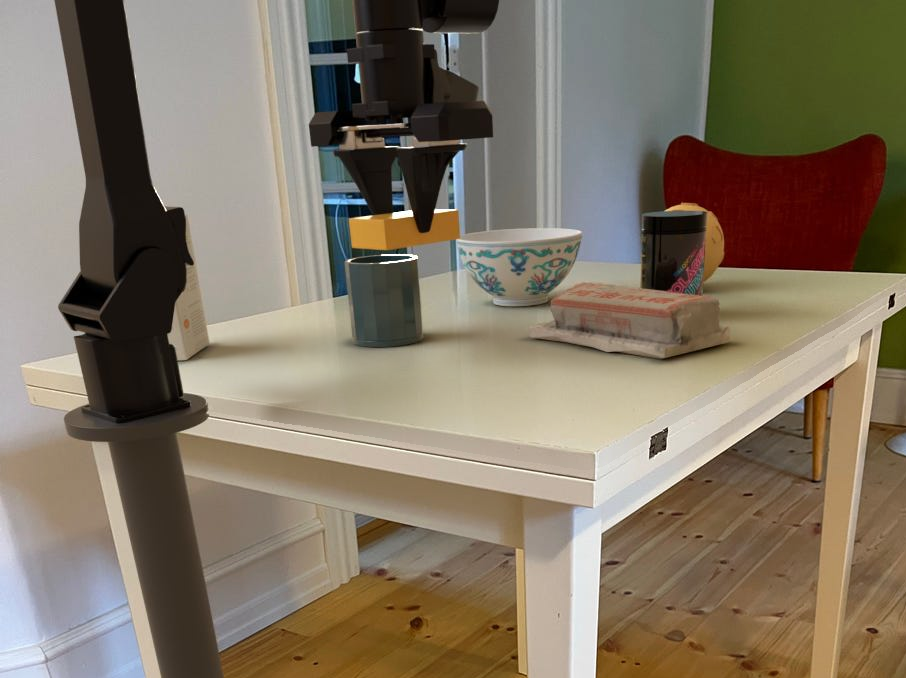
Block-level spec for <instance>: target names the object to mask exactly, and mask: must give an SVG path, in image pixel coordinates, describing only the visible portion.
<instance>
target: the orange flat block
mask: <svg viewBox="0 0 906 678" xmlns="http://www.w3.org/2000/svg"><path fill="white" fill-rule="evenodd" d="M348 223H349V235H350V243H351V249H361V250H376V251H392V250H397V249H405V248H410V247H418V246H423V245H430V244H437V243H443V242H449V241H454V240H456V239H460V236H461V229H460V211H459V209H441V208H440V209H437V208H435V212H434V216H433V220H432V225H431V229H430V231H429V232H426V233H420V232H419V231H418V228H417V225H416V222H415V219H414V216H413V213H412V209H411V210H404V211H398V212H393V213H388V214H380V215H373V214H371V215H366V216H357V217H351V218H348Z"/></svg>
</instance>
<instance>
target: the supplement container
mask: <svg viewBox="0 0 906 678" xmlns="http://www.w3.org/2000/svg"><path fill="white" fill-rule="evenodd" d="M706 226H707V212H705V211H665V210H662V211H653V212H652V211H651V212H645V213H642V214H641V229H640V231H641V247H640V248H641V249H640V284H639V288H641V289H650V290H660V291H668V292H676V293H683V294H691V295H700V296H704V283H703V278H704V260H705V242H706V230H707V227H706Z"/></svg>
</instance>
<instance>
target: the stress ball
mask: <svg viewBox="0 0 906 678" xmlns="http://www.w3.org/2000/svg"><path fill="white" fill-rule="evenodd" d="M664 211H705V212H707V226H706V227H707V230H706V242H705V260H704V278H703V284H704V283H705V282H706V281H708V280H709V279H710V278H711V277H712V276H713V275H714V274H715V273H716V271H717V269H718V268H719V266H720V264H722V262H723V261H724V257H725V253H726V252H725V237H724V232H723V228H722V226H721V224H720V223H719V219H718V217H717V216H716V215H715V214H714V212H712V210H711V211H710V210H709V211H708V209H705V208H704V207H701V206H699V204H698V203H695V202H693V203H691V202H681V203H680V204H677V205H674V206H671V207H669V208H667V209H665V210H664Z"/></svg>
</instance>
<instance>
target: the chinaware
mask: <svg viewBox="0 0 906 678" xmlns="http://www.w3.org/2000/svg"><path fill="white" fill-rule="evenodd" d="M582 237H583V232H582V231H581V230H578V229H574V228H561V227H531V228H530V227H529V228H526V227H525V228H508V229H506V228H505V229H495V230H486V231H478V232H470V233H464V234H460V239H456V245H457V250H458V253H459V257H460V259H461V262H462V264H463V266H464V268H465V270H466V272H467V273H468V275H469V277H471V279H472V280H473V282H474V283H475V284H476V285H477V286H479V287H480V289H482V290H483V291H485V292H486V293H488V294H489V295H490V296H492V302H493V304H494V305H496V306H500V307H529V306H538V305H542V304H546V303H547V302H548V301H549V294H550V293H551V292H552V291H554V290H556V288H557V287H559V286H560V284H562V282H563V281H565V279H566V278H567V276H568V275H569V274H570V272H571V270H572V268H573V267H574V264H575V262H576V260H577V257H578V254H579V252H580V248H581V247H580V246H581V243H582Z"/></svg>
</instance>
